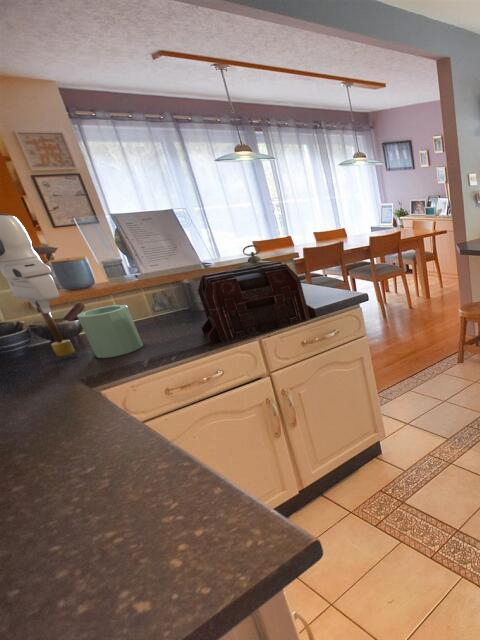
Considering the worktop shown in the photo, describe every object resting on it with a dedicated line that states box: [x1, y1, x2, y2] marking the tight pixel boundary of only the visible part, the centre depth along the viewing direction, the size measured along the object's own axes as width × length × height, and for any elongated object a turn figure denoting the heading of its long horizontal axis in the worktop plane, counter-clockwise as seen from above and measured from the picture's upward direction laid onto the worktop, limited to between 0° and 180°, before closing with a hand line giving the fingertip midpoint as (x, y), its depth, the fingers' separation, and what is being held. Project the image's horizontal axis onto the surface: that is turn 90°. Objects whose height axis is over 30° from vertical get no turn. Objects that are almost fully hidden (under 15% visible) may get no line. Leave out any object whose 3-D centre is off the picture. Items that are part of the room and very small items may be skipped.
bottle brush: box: [35, 301, 76, 357], centre depth 137 cm, size 4×4×18 cm
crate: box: [197, 261, 317, 344], centre depth 157 cm, size 35×19×21 cm, turn 133°
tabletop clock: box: [236, 244, 274, 270], centre depth 185 cm, size 14×9×25 cm, turn 147°
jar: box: [76, 304, 144, 359], centre depth 142 cm, size 12×12×14 cm
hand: (44, 312), depth 135 cm, fingers closed on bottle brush, 2 cm apart
